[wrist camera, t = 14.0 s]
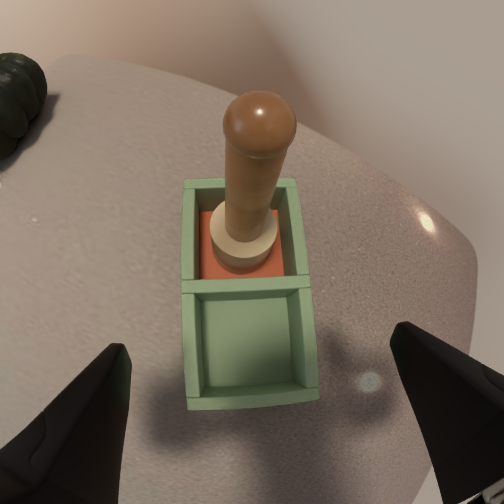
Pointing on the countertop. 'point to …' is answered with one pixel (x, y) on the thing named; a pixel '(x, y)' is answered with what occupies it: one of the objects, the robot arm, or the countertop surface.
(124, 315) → the countertop surface
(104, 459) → the robot arm
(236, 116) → the dish brush
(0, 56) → the squash
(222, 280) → the green divided tray
